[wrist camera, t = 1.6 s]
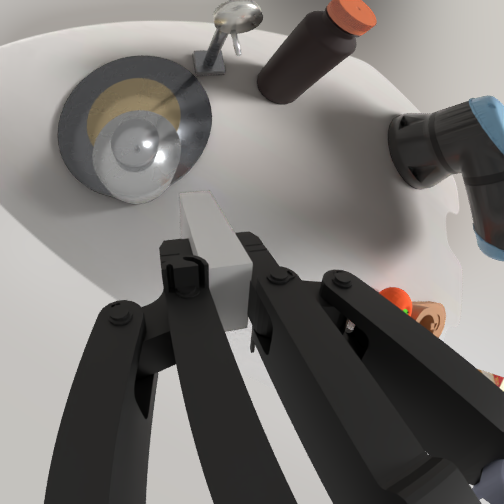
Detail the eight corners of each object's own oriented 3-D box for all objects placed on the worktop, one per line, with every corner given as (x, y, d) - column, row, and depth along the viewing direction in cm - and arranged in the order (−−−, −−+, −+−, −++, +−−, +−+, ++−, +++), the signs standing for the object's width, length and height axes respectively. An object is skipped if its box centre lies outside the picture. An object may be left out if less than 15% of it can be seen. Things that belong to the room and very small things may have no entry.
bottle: (262, 62, 37) (332, -22, 18) (301, 80, 39) (383, 11, 20) (250, 93, 36) (325, 6, 18) (292, 112, 39) (384, 44, 20)
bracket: (378, 347, 46) (406, 358, 40) (386, 301, 46) (415, 308, 40) (431, 338, 52) (455, 345, 46) (438, 301, 52) (463, 305, 46)
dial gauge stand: (222, 54, 35) (261, -17, 20) (232, 99, 36) (278, 33, 21) (189, 55, 33) (215, -21, 19) (196, 101, 34) (227, 29, 19)
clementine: (366, 337, 45) (395, 348, 38) (352, 305, 43) (384, 314, 36) (395, 308, 47) (424, 315, 40) (383, 276, 45) (415, 281, 39)
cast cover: (170, 125, 32) (178, 91, 23) (180, 195, 33) (191, 180, 24) (98, 138, 29) (85, 107, 20) (106, 211, 30) (91, 200, 21)
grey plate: (199, 54, 34) (201, 49, 33) (221, 182, 36) (224, 180, 34) (62, 76, 27) (60, 71, 26) (65, 214, 29) (63, 212, 28)
